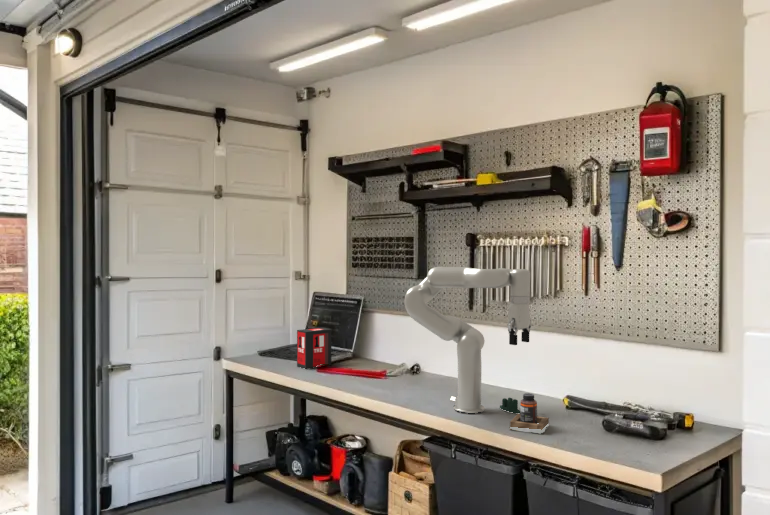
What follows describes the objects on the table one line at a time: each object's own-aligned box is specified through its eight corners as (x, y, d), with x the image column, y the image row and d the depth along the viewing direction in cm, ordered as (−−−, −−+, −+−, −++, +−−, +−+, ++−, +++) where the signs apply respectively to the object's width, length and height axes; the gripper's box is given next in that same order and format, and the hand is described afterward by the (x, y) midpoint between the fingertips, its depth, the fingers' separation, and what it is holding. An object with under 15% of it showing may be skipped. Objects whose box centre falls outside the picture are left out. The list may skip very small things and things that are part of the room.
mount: (523, 413, 249) (523, 401, 249) (514, 415, 247) (515, 402, 247) (505, 407, 258) (505, 395, 258) (496, 408, 256) (496, 396, 256)
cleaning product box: (305, 369, 332) (306, 331, 331) (296, 366, 339) (297, 330, 338) (331, 365, 342) (331, 329, 342) (322, 363, 349) (322, 327, 349)
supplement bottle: (534, 422, 233) (534, 392, 232) (538, 427, 227) (539, 396, 226) (518, 422, 233) (518, 392, 232) (522, 427, 227) (522, 396, 226)
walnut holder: (509, 430, 227) (509, 421, 227) (517, 421, 237) (517, 413, 237) (542, 434, 221) (542, 426, 221) (549, 425, 232) (549, 417, 232)
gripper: (522, 298, 256) (521, 339, 256) (500, 301, 242) (499, 344, 243) (538, 299, 251) (538, 341, 251) (517, 302, 238) (517, 347, 238)
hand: (519, 343), depth 247 cm, fingers open, 9 cm apart
